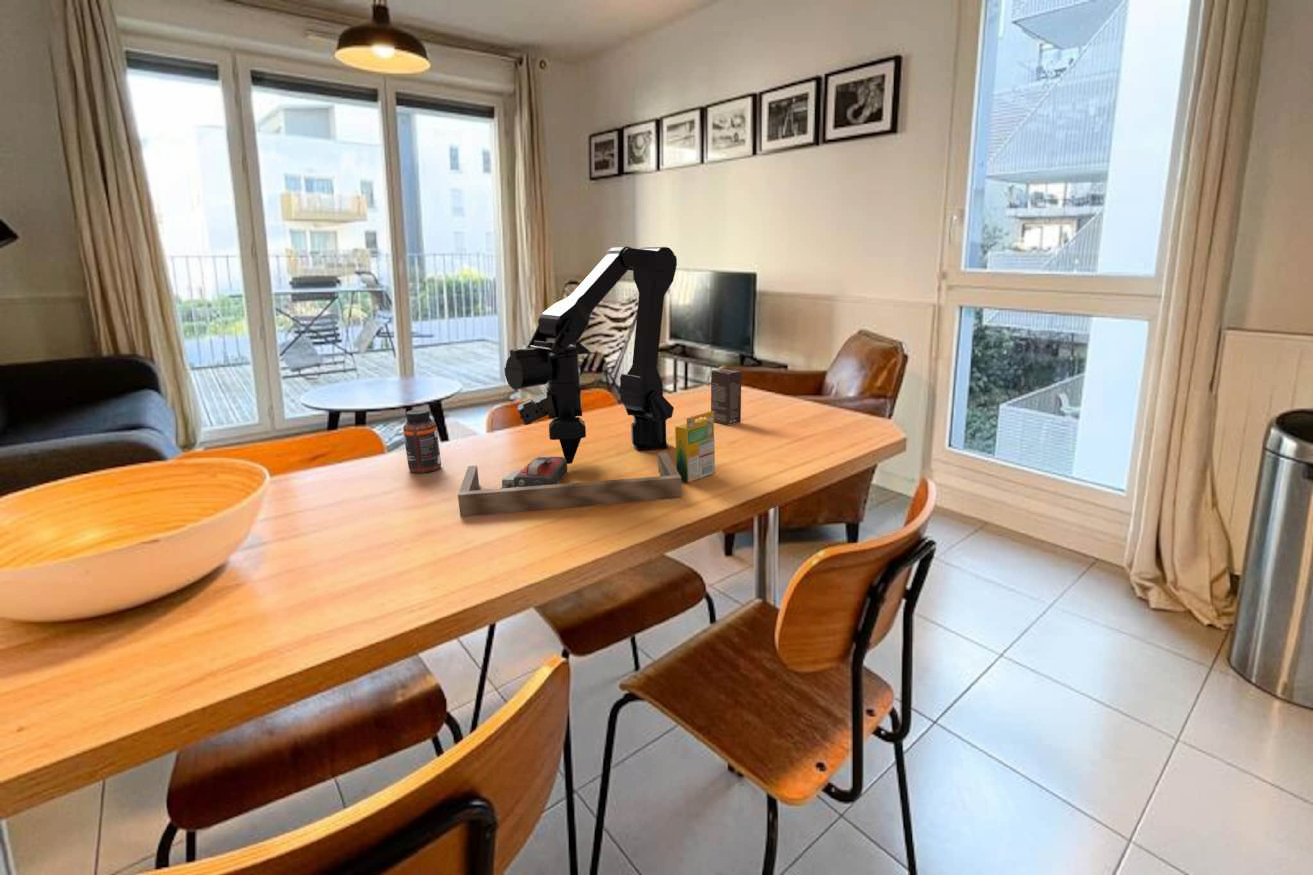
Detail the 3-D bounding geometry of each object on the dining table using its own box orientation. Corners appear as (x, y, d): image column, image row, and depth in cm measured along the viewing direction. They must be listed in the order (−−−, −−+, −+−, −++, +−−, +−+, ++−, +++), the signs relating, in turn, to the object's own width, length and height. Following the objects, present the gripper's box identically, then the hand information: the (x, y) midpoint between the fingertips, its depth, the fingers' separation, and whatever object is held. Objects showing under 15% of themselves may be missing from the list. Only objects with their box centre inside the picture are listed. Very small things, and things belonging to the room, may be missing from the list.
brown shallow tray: (666, 470, 123) (666, 452, 122) (681, 498, 109) (681, 477, 108) (470, 485, 118) (468, 466, 117) (460, 516, 104) (457, 495, 103)
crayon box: (703, 469, 122) (702, 408, 119) (715, 473, 120) (715, 410, 117) (675, 479, 118) (674, 415, 114) (688, 483, 115) (687, 418, 112)
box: (742, 422, 155) (742, 370, 151) (728, 426, 152) (728, 373, 149) (723, 417, 159) (723, 367, 156) (709, 421, 156) (709, 370, 153)
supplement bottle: (448, 466, 128) (441, 408, 125) (426, 475, 123) (418, 416, 120) (424, 462, 131) (417, 406, 128) (401, 472, 126) (393, 413, 123)
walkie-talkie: (526, 469, 126) (484, 509, 107) (524, 447, 125) (482, 483, 106) (571, 470, 125) (537, 511, 106) (569, 448, 124) (535, 485, 105)
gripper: (520, 374, 128) (526, 451, 132) (515, 394, 110) (523, 483, 115) (578, 370, 130) (583, 448, 134) (583, 390, 112) (588, 478, 116)
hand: (569, 463), depth 125 cm, fingers closed
